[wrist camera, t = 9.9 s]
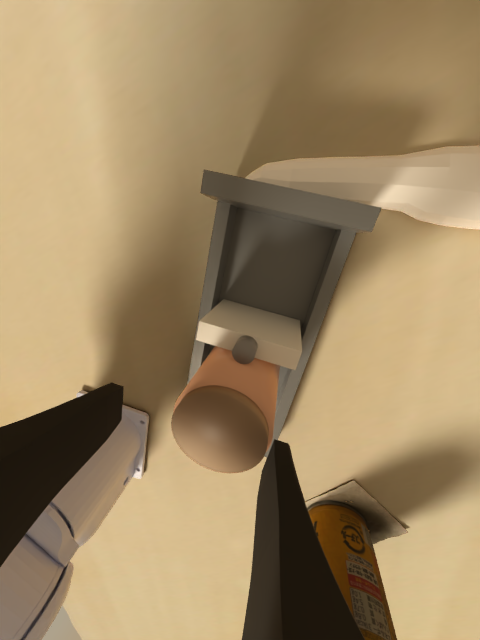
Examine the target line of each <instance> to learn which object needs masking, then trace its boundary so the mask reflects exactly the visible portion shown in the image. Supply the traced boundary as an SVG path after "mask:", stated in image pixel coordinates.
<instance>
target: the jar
mask: <svg viewBox="0 0 480 640" xmlns="http://www.w3.org/2000/svg"><path fill="white" fill-rule="evenodd" d="M279 371H280V365H276V364H273V363H270V362H266V361H263V360H260V359H257V358H254V360H253V361H252V362H251V363H249V364H240V363H238V362H237V361H235V359H234V358H233V356H232V351H230V350H227V349H224V348H221V347H217V346H215V347H214V348H213V350H212V351H211V352H210V354H209V355H208V357H207V358H206V359H205V361H204V362H203V364H202V365H201V366H200V368H199V369H198V371H197V372H196V373H195V375H194V376H193V378H192V379H191V380H190V382H189V383H188V385H187V386H186V387H185V389H184V390H183V392H182V393H181V394H180V396H179V397H178V399H177V401H176V403H175V406H174V412H173V416H172V422H171V425H172V432H173V435H174V438H175V440H176V442H177V444H178V446H179V447H180V448H181V450H182V451H183V452H184V453H185V454H186V455H187V456H188V457H189V458H190V459H192V460H193V461H194V462H196V463H197V464H199V465H201V466H203V467H205V468H207V469H210V470H213V471H217V472H222V473H239V472H243V471H247V470H249V469H251V468H253V467H255V466H256V465H257V464H258V463H259V462H260V461H261V460H262V459H263V457H264V455H265V453H266V452H267V450H268V449H269V447H270V445H271V442H272V438H273V430H274V420H275V411H276V401H277V391H278V381H279Z"/></svg>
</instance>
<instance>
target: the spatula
mask: <svg viewBox="0 0 480 640" xmlns="http://www.w3.org/2000/svg"><path fill="white" fill-rule="evenodd" d="M245 178H246V179H250V180H255V181H260V182H264V183H269V184H274V185H278V186H283V187H288V188H292V189H297V190H301V191H306V192H311V193H315V194H320V195H325V196H329V197H334V198H339V199H343V200H348V201H353V202H357V203H362V204H367V205H371V206H376V207H381V209H388V210H395V211H401V212H403V213H405V214H407V215H409V216H411V217H413V218H415V219H416V220H420V221H424V222H428V223H432V224H436V225H442V226H450V227H458V228H467V229H480V145H477V146H446V147H441V148H435V149H430V150H425V151H420V152H414V153H409V154H403V155H388V156H364V157H323V158H297V159H290V160H284V161H278V162H271V163H266V164H264V165H263V166H261V167H259V168H258V169H256V170H254V171H253V172H251V173H250V174H249V175H248V176H247V177H245Z"/></svg>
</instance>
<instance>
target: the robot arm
mask: <svg viewBox="0 0 480 640" xmlns="http://www.w3.org/2000/svg"><path fill="white" fill-rule="evenodd" d="M122 404H123V386H120V385H117V384H114V383H110V384H107V385H105V386H103V387H100V388H98V389H96V390H93V391H91V392H89V393H88V392H86V391H82V390H81V391H79V392H78V393H77V398H75V399H73V400H70V401H68V402H66V403H63V404H61V405H59V406H56V407H54V408H51V409H49V410H46V411H44V412H41V413H39V414H36V415H33V416H31V417H28V418H26V419H23V420H20V421H17V422H15V423H12V424H9V425H6V426H3V427H0V640H42V638H43V637H44V635H45V634H46V632H47V631H48V629H49V627H50V626H51V624H52V622H53V621H54V619H55V617H56V615H57V614H58V612H59V610H60V608H61V606H62V604H63V602H64V600H65V598H66V596H67V593H68V591H69V587H70V583H71V577H72V574H73V564H72V563H71V562H70V559H71V558H72V557H73V555H74V554H75V552H76V551H77V549H78V548H79V547H80V546H82V545H83V544H84V543H86V542H87V541H88V540H89V539H90V538H91V537H92V536H93V535H94V533H95V532H96V531H97V529H98V528H99V526H100V525H101V523H102V522H103V520H104V519H105V517H106V516H107V514H108V513H109V511H110V510H111V508H112V507H113V505H114V504H115V502H116V501H117V499H118V498H119V496H120V495H121V493H122V492H123V490H124V489H125V487H126V486H127V484H128V483H129V481H130V480H131V478H132V477H135V478H138V479H141V478H142V476H143V474H144V464H145V454H146V444H147V434H148V424H149V416H148V414H147V413H145V412H142V411H139V410H137V409H134V408H131V407H128V406H125V405H122ZM242 640H365V638H364V636H363V634H362V632H361V630H360V628H359V626H358V624H357V622H356V620H355V618H354V616H353V614H352V612H351V610H350V608H349V606H348V604H347V602H346V600H345V598H344V596H343V594H342V592H341V590H340V588H339V585H338V583H337V581H336V579H335V577H334V574H333V572H332V570H331V568H330V565H329V563H328V561H327V558H326V556H325V554H324V551H323V549H322V547H321V544H320V542H319V539H318V537H317V534H316V531H315V529H314V526H313V523H312V521H311V518H310V515H309V512H308V509H307V506H306V503H305V500H304V497H303V494H302V491H301V488H300V485H299V481H298V478H297V474H296V470H295V467H294V463H293V459H292V454H291V450H290V446H289V444H287V443H284V442H282V441H279V440H276V439H274V441H273V444H272V446H271V449H270V452H269V454H268V457H267V460H266V462H265V465H264V467H263V470H262V474H261V480H260V486H259V492H258V498H257V510H256V523H255V536H254V549H253V562H252V573H251V582H250V589H249V596H248V603H247V610H246V616H245V623H244V630H243V636H242Z"/></svg>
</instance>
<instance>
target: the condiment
mask: <svg viewBox="0 0 480 640" xmlns="http://www.w3.org/2000/svg"><path fill="white" fill-rule="evenodd" d="M345 501H348V502H345ZM349 501H353V503H351V502H349ZM305 503H306V506H307V509H308V512H309V515H310V518H311V521H312V523H313V526H314V529H315V531H316V534H317V537H318V539H319V542H320V544H321V547H322V549H323V551H324V554H325V556H326V558H327V561H328V563H329V565H330V568H331V570H332V572H333V574H334V577H335V579H336V581H337V583H338V585H339V588H340V590H341V592H342V594H343V596H344V598H345V600H346V602H347V604H348V606H349V608H350V610H351V612H352V614H353V616H354V618H355V620H356V622H357V624H358V626H359V628H360V630H361V632H362V634H363V636H364V638H365V640H397V638H396V634H395V629H394V626H393V622H392V618H391V614H390V610H389V606H388V603H387V599H386V595H385V591H384V587H383V583H382V579H381V575H380V571H379V567H378V564H377V559H376V556H375V552H374V548H373V544H375V543H377V542H379V541H381V540H385V539H387V538H390V537H396V536H400V535H402V534H405V533H408V531H407V530H406V529H405V528H404V527H402V525H401V524H400V523H399V522H398V521H397V520H396V519H395V518H394V517H393V516H391V515H390V513H389V512H388V511H387V510H386V509H385V508H383V507H382V506H381V505H380V504H379V503H378V502H377V500H376V499H374V498H372V497H371V496H370V495H369V494H368V493H367V492H366V491H365V490H364V489H363V488H362V487H360V486H359V485H358V484H357V483H356V482H355V481H354V480H353V481H351V482H349V483H348V484H345V485H343V486H340V487H338V488H337V489H335V490H332V491H330V492H328V493H326V494H323V495H321V496H318V497H315V498H313V499H311V500H309V501H307V502H305ZM369 530H370V531H369Z"/></svg>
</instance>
